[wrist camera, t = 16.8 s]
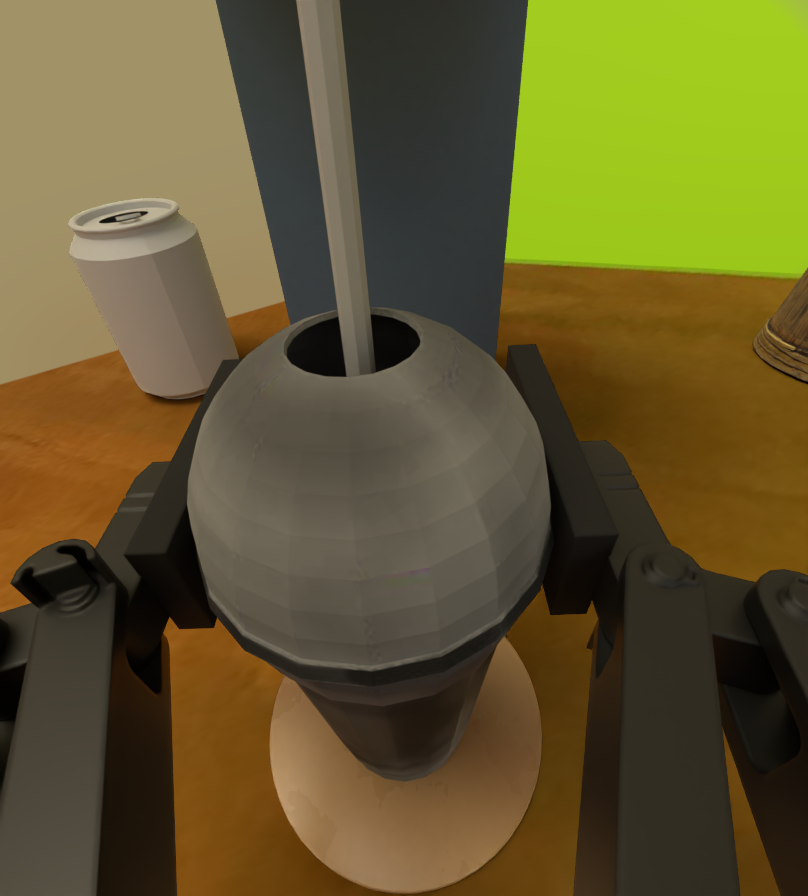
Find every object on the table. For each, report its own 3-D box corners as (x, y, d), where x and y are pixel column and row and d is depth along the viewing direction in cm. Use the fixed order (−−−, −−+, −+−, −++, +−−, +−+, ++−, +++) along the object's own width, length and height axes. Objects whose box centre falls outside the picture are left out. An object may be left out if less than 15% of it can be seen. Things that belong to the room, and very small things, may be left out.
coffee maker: (533, 544, 23) (856, -935, 5) (272, 555, 24) (-275, -809, 6) (482, 354, 37) (524, -247, 19) (316, 363, 37) (198, -220, 19)
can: (222, 342, 40) (167, 185, 32) (257, 379, 36) (204, 207, 28) (130, 374, 37) (45, 209, 29) (156, 419, 33) (63, 239, 25)
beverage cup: (292, 839, 15) (-923, -267, 2) (316, 623, 20) (84, -41, 7) (522, 828, 15) (1238, -433, 2) (485, 614, 20) (573, -76, 7)
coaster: (563, 909, 14) (565, 909, 14) (233, 879, 15) (229, 877, 14) (523, 599, 21) (525, 594, 21) (305, 591, 22) (304, 586, 22)
